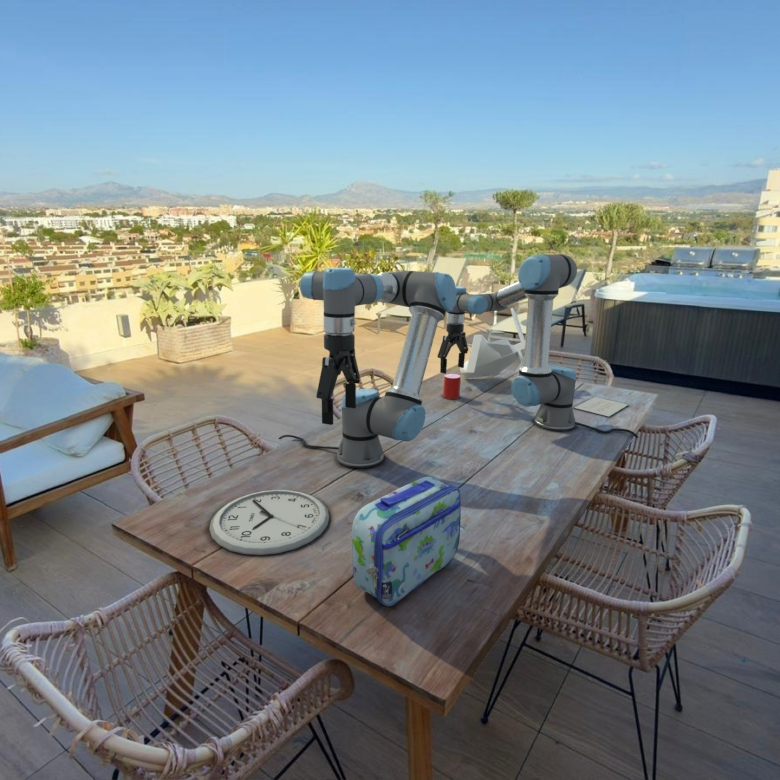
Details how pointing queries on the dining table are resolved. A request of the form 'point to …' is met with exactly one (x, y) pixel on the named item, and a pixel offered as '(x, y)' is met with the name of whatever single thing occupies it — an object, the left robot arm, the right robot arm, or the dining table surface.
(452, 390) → the tin
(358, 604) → the dining table surface
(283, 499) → the wall clock
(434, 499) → the lunch box
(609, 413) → the invitation card
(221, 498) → the dining table surface
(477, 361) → the white plastic object
